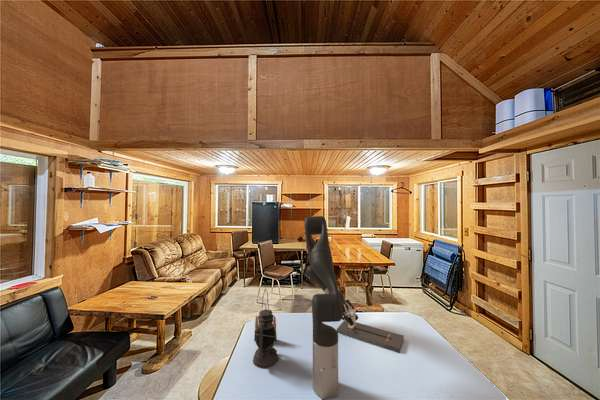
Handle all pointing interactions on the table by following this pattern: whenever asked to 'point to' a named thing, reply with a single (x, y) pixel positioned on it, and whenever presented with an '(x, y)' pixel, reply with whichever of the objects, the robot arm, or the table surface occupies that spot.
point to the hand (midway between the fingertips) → (355, 321)
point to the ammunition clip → (257, 326)
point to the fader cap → (352, 317)
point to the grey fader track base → (373, 336)
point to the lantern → (265, 340)
